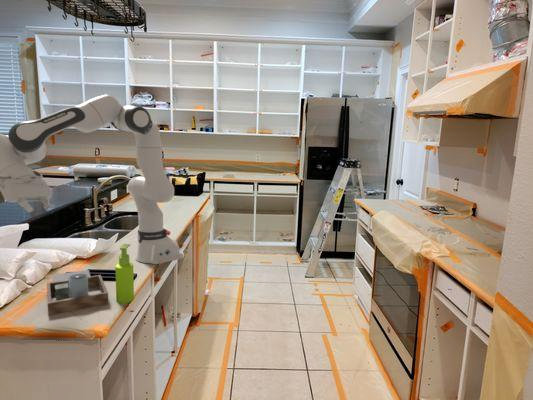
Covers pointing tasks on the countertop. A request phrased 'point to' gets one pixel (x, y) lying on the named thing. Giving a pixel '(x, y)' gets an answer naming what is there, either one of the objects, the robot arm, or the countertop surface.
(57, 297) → the block
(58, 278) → the board
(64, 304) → the crate
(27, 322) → the countertop surface
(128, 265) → the soap dispenser
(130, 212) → the countertop surface
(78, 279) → the cup
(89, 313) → the countertop surface
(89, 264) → the countertop surface
